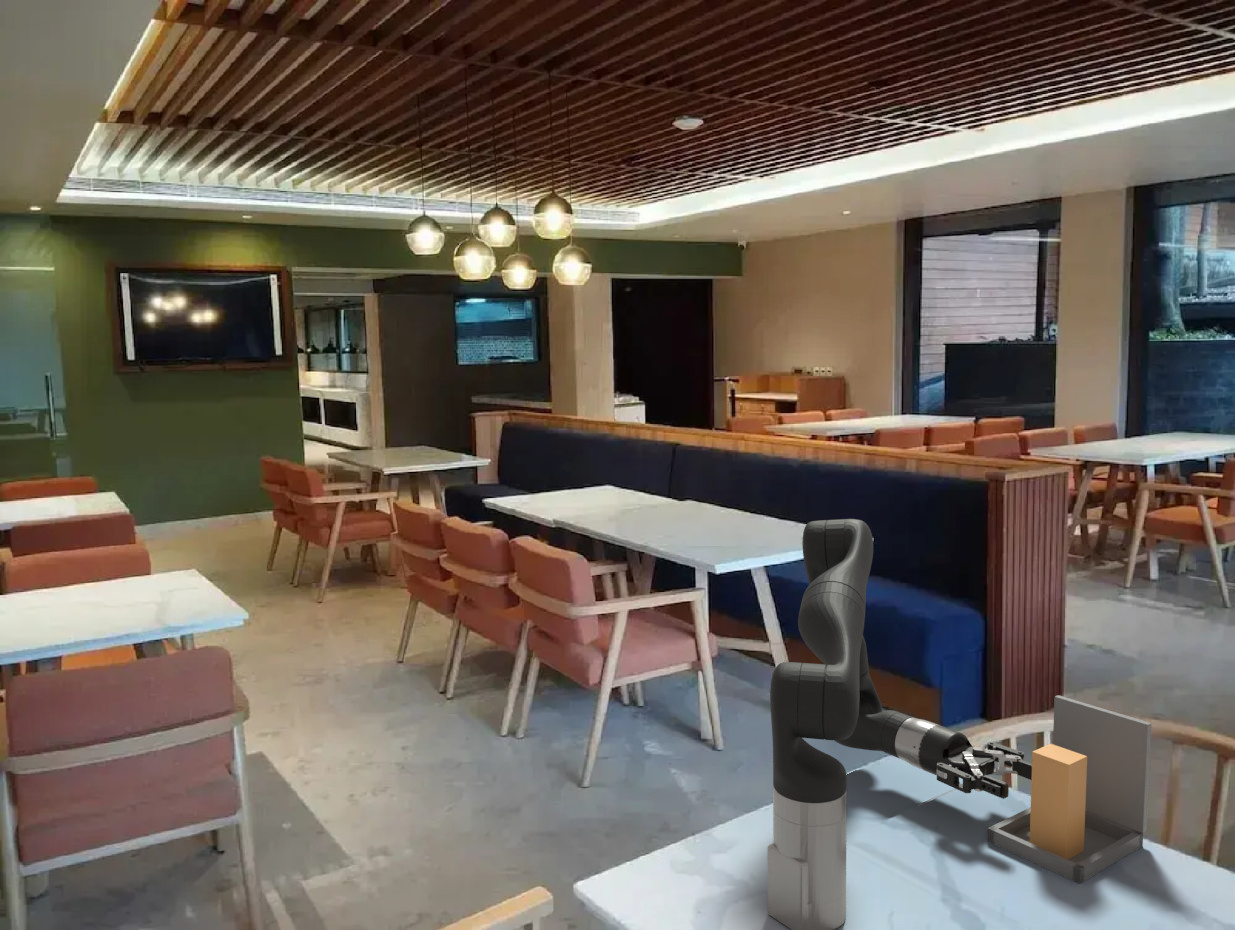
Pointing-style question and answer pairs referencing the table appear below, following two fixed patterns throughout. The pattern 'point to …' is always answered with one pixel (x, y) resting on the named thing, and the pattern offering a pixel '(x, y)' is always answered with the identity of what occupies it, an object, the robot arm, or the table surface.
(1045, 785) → the block
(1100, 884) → the table surface
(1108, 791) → the case
